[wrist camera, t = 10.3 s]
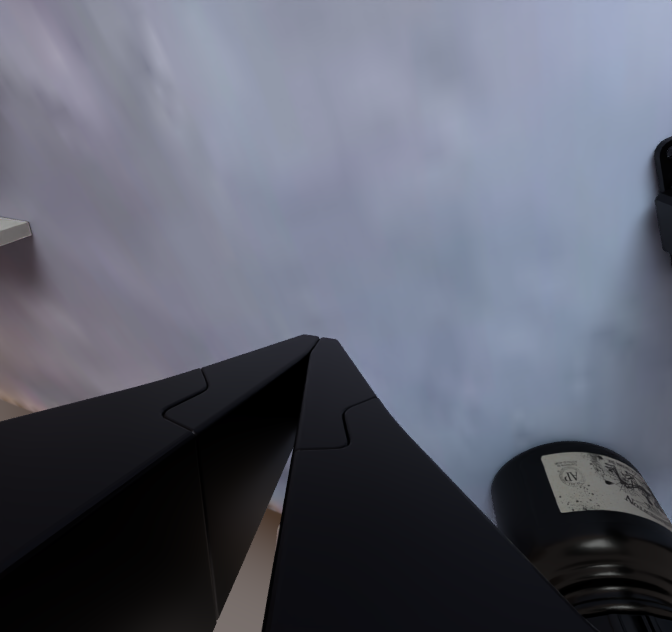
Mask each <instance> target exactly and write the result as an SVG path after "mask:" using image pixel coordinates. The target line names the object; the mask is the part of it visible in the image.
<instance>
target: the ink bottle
mask: <svg viewBox="0 0 672 632" xmlns="http://www.w3.org/2000/svg"><path fill="white" fill-rule="evenodd" d="M491 495H492V502H493V507H494V512H495V517H496V522H497V527H498V529H499V530H500V531H501V532H502V533H503V534H504V535H505V536H506V537H507V538H508V539H509V540H510V541H511V543H512V544H513V545H514V546H515V547H516V548H517V549H518V550H519V551H520V552H521V553H522V554H523V555H524V556H525V557H526V558H527V559H528V560H529V561H530V562H531V563H532V564H533V565H534V567H535V568H536V569H537V570H538V571H539V572H540V573H541V574H542V575H543V576H544V577H545V578H546V579H547V580H548V581H549V582H550V583H551V584H552V585H553V586H554V587H555V588H556V589H557V590H558V592H559V593H560V594H561V595H562V596H563V597H564V598H565V599H566V600H567V601H568V602H569V603H570V604H571V605H572V606H573V607H574V608H575V609H576V610H577V611H578V612H579V613H580V614H581V615H582V616H583V617H584V618H585V619H586V620H587V621H588V622H589V623H590V624H591V625H593V626H594V627H595V628H596V629H597V630H598V631H600V632H672V524H671V522H670V521H669V519H668V517H667V516H666V514H665V513H664V511H663V509H662V508H661V506H660V505H659V503H658V501H657V500H656V498H655V496H654V495H653V493H652V491H651V490H650V488H649V486H648V485H647V483H646V482H645V480H644V479H643V477H642V476H641V474H640V473H639V471H638V470H637V469H636V468H635V467H634V466H633V465H632V464H631V463H630V462H629V461H628V460H627V459H625V458H624V457H622V456H621V455H619V454H617V453H616V452H614V451H612V450H609V449H607V448H604V447H602V446H598V445H595V444H591V443H586V442H578V441H561V442H553V443H548V444H544V445H540V446H537V447H534V448H532V449H529V450H527V451H525V452H523V453H521V454H519V455H517V456H516V457H514V458H513V459H511V460H510V461H509V462H507V463H506V464H505V465H504V466H503V467H502V468H501V469H500V470H499V472H498V473H497V475H496V476H495V478H494V481H493V483H492V489H491Z"/></svg>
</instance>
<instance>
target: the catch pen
mask: <svg viewBox="0 0 672 632" xmlns="http://www.w3.org/2000/svg"><path fill="white" fill-rule="evenodd" d="M31 235H32V234H31V230H30V226H29V223H28V222H26V221H20V220H14V219H8V218H2V217H0V246H3V245H6V244H9V243H12V242H14V241H17V240H20V239H23V238H25V237H28V236H31Z"/></svg>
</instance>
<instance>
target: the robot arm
mask: <svg viewBox="0 0 672 632" xmlns="http://www.w3.org/2000/svg"><path fill="white" fill-rule="evenodd" d="M671 146H672V136H671V137H669V138H667V139H665V140H663V141H661V142H660V144H659V145H658V146H657V147H656V149H655V153H654V157H655V164H656V170H657V176H658V182H659V189H660V193H659V194H658V196H657V197H656V199H655V205H656V211H657V217H658V223H659V229H660V235H661V241H662V247H663V250H664V251H666V252H668V253H669V254H670V258H671V264H672V155H671V156H669V157H668V156H667V155H666V154H667V150H668V149H669V148H670V147H671ZM292 449H293V452H292V458H291V464H290V469H289V475H288V481H287V487H286V493H285V498H284V504H283V510H282V516H281V522H280V527H279V533H278V539H277V545H276V551H275V556H274V562H273V568H272V574H271V580H270V585H269V591H268V597H267V603H266V609H265V614H264V620H263V626H262V632H600V631H598V630H597V629H596V628H595V627H594V626H593V625H591V624H590V623H589V622H588V621H587V620H586V619H585V618H584V617H583V616H582V615H581V614H580V613H579V612H578V611H577V610H576V609H575V608H574V607H573V606H572V605H571V604H570V603H569V602H568V601H567V600H566V599H565V598H564V597H563V596H562V595H561V594H560V593H559V592H558V590H557V589H556V588H555V587H554V586H553V585H552V584H551V583H550V582H549V581H548V580H547V579H546V578H545V577H544V576H543V575H542V574H541V573H540V572H539V571H538V570H537V569H536V568H535V567H534V565H533V564H532V563H531V562H530V561H529V560H528V559H527V558H526V557H525V556H524V555H523V554H522V553H521V552H520V551H519V550H518V549H517V548H516V547H515V546H514V545H513V544H512V543H511V541H510V540H509V539H508V538H507V537H506V536H505V535H504V534H503V533H502V532H501V531H500V530H499V529H498V528H497V527H496V526H495V525H494V524H493V523H492V522H491V521H490V520H489V519H488V518H487V516H486V515H485V514H484V513H483V512H482V511H481V510H480V509H479V508H478V507H477V506H476V505H475V504H474V503H473V502H472V501H471V500H470V499H469V498H468V497H467V496H466V495H465V494H464V493H463V491H462V490H461V489H460V488H459V487H458V486H457V485H456V484H455V483H454V482H453V481H452V480H451V479H450V478H449V477H448V476H447V475H446V474H445V473H444V472H443V471H442V470H441V469H440V467H439V466H438V465H437V464H436V463H435V462H434V461H433V460H432V459H431V458H430V457H429V456H428V455H427V454H426V453H425V452H424V451H423V450H422V449H421V448H420V447H419V446H418V445H417V444H416V442H415V441H414V440H413V439H412V438H411V437H410V436H409V435H408V434H407V433H406V432H405V431H404V430H403V428H402V427H401V426H400V425H399V424H398V423H397V422H396V421H395V419H394V418H393V417H392V416H391V414H390V413H389V412H388V410H387V409H386V408H385V406H384V405H383V404H382V402H381V401H380V399H379V398H377V396H376V395H375V393H374V392H373V390H372V389H371V387H370V386H369V384H368V383H367V382H366V380H365V379H364V377H363V376H362V374H361V373H360V372H359V370H358V369H357V367H356V366H355V364H354V363H353V361H352V360H351V359H350V357H349V356H348V354H347V353H346V351H345V350H344V349H343V347H342V346H341V344H340V343H339V341H338V340H336V339H331V338H325V337H322V338H319V337H318V336H312V335H300V336H297V337H294V338H291V339H288V340H285V341H282V342H279V343H276V344H273V345H270V346H267V347H264V348H261V349H258V350H254V351H251V352H248V353H245V354H242V355H239V356H236V357H233V358H230V359H227V360H224V361H221V362H218V363H215V364H212V365H209V366H206V367H203V368H201V369H200V368H198V369H195V370H192V371H189V372H185V373H182V374H179V375H176V376H172V377H169V378H166V379H163V380H159V381H155V382H152V383H148V384H144V385H141V386H137V387H133V388H129V389H125V390H122V391H118V392H114V393H110V394H106V395H102V396H98V397H94V398H90V399H86V400H82V401H79V402H75V403H71V404H67V405H63V406H59V407H55V408H51V409H47V410H43V411H39V412H36V413H32V414H28V415H24V416H20V417H16V418H12V419H8V420H4V421H1V422H0V632H213V630H214V628H215V625H216V620H218V618H219V616H220V614H221V611H222V609H223V607H224V605H225V602H226V600H227V598H228V596H229V593H230V591H231V589H232V586H233V584H234V582H235V580H236V577H237V575H238V573H239V570H240V568H241V566H242V564H243V561H244V559H245V557H246V554H247V552H248V550H249V547H250V545H251V543H252V541H253V538H254V536H255V534H256V531H257V529H258V527H259V525H260V522H261V520H262V518H263V515H264V513H265V511H266V508H267V506H268V504H269V502H270V499H271V497H272V495H273V492H274V490H275V488H276V486H277V483H278V481H279V479H280V476H281V474H282V472H283V470H284V467H285V465H286V463H287V460H288V458H289V456H290V453H291V451H292Z"/></svg>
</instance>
